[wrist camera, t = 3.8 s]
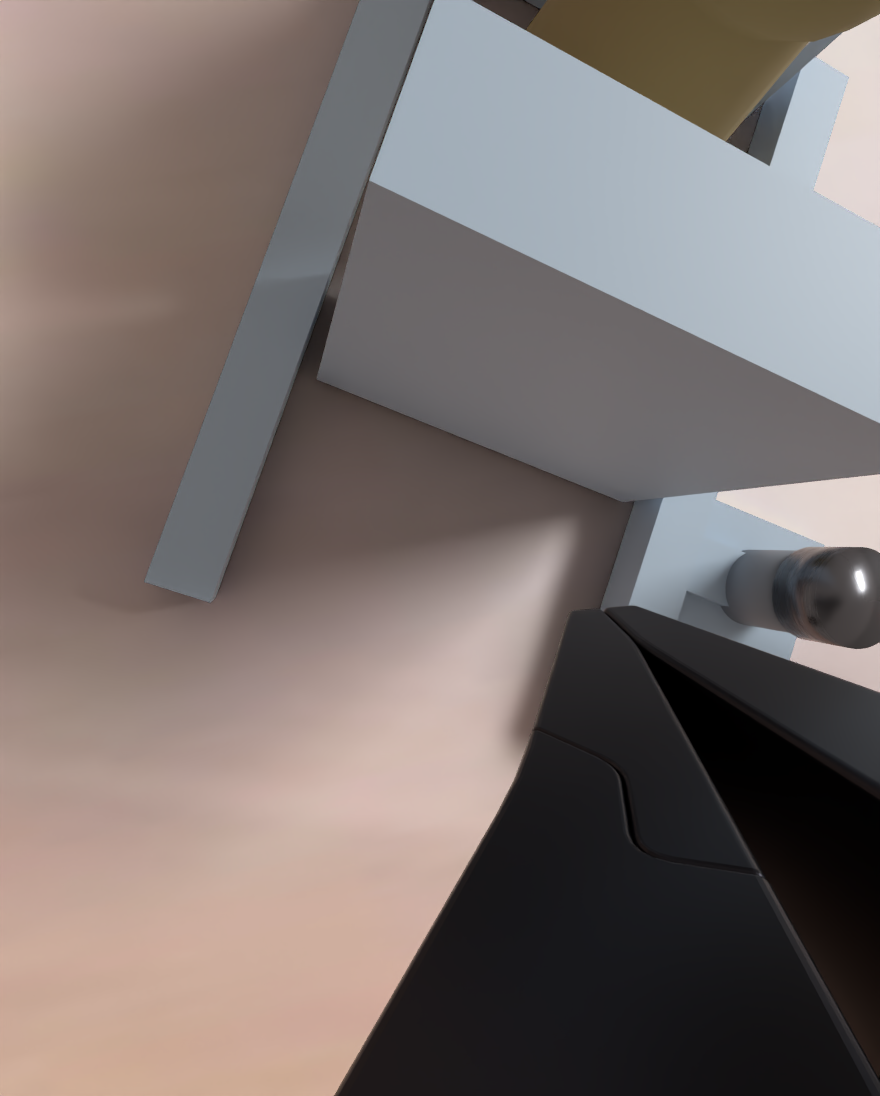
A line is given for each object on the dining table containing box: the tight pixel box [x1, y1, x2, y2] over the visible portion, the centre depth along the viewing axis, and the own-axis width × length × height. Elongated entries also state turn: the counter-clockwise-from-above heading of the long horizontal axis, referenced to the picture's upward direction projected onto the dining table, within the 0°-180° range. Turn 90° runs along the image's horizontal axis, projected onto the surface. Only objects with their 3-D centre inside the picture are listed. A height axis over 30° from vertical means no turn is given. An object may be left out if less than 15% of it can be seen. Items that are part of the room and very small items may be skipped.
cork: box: [526, 0, 880, 142], centre depth 14 cm, size 6×6×11 cm
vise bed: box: [144, 0, 849, 660], centre depth 15 cm, size 20×18×10 cm
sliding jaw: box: [317, 0, 880, 502], centre depth 14 cm, size 3×9×10 cm, turn 72°
